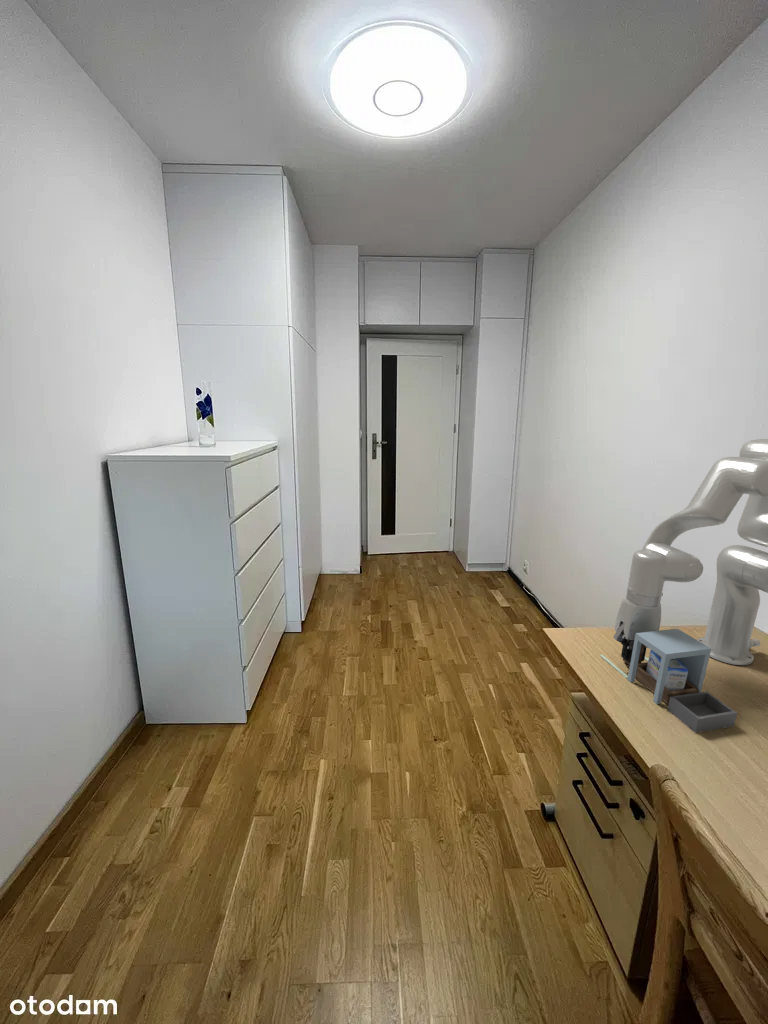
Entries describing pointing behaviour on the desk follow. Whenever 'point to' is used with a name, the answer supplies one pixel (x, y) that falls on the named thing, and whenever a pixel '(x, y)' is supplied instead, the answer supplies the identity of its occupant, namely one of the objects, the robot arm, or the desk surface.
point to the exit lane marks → (616, 666)
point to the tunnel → (672, 656)
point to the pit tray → (702, 711)
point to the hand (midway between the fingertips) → (632, 658)
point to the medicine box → (668, 672)
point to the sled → (651, 682)
